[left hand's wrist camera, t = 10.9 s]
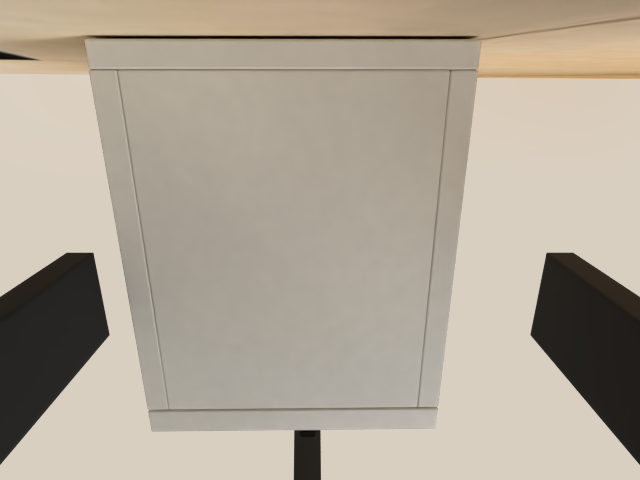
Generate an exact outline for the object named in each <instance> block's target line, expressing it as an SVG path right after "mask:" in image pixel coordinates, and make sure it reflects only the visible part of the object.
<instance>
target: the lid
mask: <svg viewBox="0 0 640 480" xmlns="http://www.w3.org/2000/svg"><path fill="white" fill-rule="evenodd" d="M437 410H438V408H437V407H418V405H417V407H355V408H250V409H156V410H149V418H150V423H151V430H152V431H153V432H165V431H264V430H358V429H359V430H361V429H435V427H436V419H437Z"/></svg>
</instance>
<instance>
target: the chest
mask: <svg viewBox="0 0 640 480" xmlns="http://www.w3.org/2000/svg"><path fill="white" fill-rule="evenodd" d="M84 43H85V49H86V55H87V61H88V66H89V68H90V69H92V70H89V74H90V80H91V85H92V91H93V97H94V102H95V108H96V114H97V120H98V125H99V131H100V137H101V143H102V148H103V154H104V160H105V166H106V172H107V177H108V183H109V189H110V195H111V200H112V206H113V212H114V218H115V223H116V229H117V235H118V241H119V246H120V252H121V258H122V263H123V269H124V275H125V281H126V286H127V292H128V298H129V304H130V310H131V315H132V321H133V327H134V332H135V338H136V344H137V350H138V355H139V361H140V367H141V373H142V378H143V384H144V390H145V395H146V401H147V407H148V409H149V410H156V409H250V408H355V407H417V405H418V407H437V406H438V402H439V393H440V385H441V376H442V368H443V360H444V351H445V343H446V335H447V326H448V318H449V309H450V301H451V293H452V284H453V276H454V267H455V259H456V251H457V242H458V234H459V225H460V217H461V209H462V201H463V192H464V184H465V175H466V167H467V159H468V150H469V142H470V133H471V125H472V117H473V108H474V100H475V91H476V83H477V75H478V71H477V70H476V69H478V65H479V57H480V48H481V40H479V39H85V40H84Z"/></svg>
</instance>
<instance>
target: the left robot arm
mask: <svg viewBox="0 0 640 480" xmlns="http://www.w3.org/2000/svg"><path fill="white" fill-rule="evenodd" d="M108 336H109V330H108V325H107V320H106V315H105V310H104V305H103V300H102V294H101V289H100V284H99V279H98V274H97V269H96V264H95V259H94V254H93V253H66V254H64V255H63V256H61V257H60V258H58V259H57V260H55V261H54V262H52V263H51V264H49V265H48V266H46V267H45V268H43V269H42V270H40V271H39V272H37V273H36V274H34V275H33V276H31V277H30V278H28V279H27V280H25V281H24V282H22V283H21V284H19V285H18V286H16V287H15V288H13V289H12V290H10V291H9V292H7V293H5V294H4V295H2V296H1V297H0V464H1V463H2V462H3V461H4V460H5V458H6V457H7V456H8V455H9V454H10V452H11V451H12V450H13V449H14V448H15V447H16V445H17V444H18V443H19V442H20V441H21V439H22V438H23V437H24V436H25V435H26V434H27V432H28V431H29V430H30V429H31V428H32V426H33V425H34V424H35V423H36V422H37V420H38V419H39V418H40V417H41V416H42V415H43V413H44V412H45V411H46V410H47V409H48V407H49V406H50V405H51V404H52V403H53V401H54V400H55V399H56V398H57V397H58V396H59V394H60V393H61V392H62V391H63V390H64V388H65V387H66V386H67V385H68V384H69V382H70V381H71V380H72V379H73V378H74V376H75V375H76V374H77V373H78V372H79V371H80V369H81V368H82V367H83V366H84V365H85V363H86V362H87V361H88V360H89V359H90V358H91V356H92V355H93V354H94V353H95V352H96V350H97V349H98V348H99V347H100V346H101V344H102V343H103V342H104V341H105V340H106V339H107V337H108ZM531 336H532V337H533V339H534V340H535V341H536V342H537V343H538V344H539V346H540V347H541V348H542V349H543V350H544V352H545V353H546V354H547V355H548V356H549V357H550V359H551V360H552V361H553V362H554V363H555V365H556V366H557V367H558V368H559V369H560V371H561V372H562V373H563V374H564V375H565V377H566V378H567V379H568V380H569V381H570V382H571V384H572V385H573V386H574V387H575V388H576V390H577V391H578V392H579V393H580V394H581V396H582V397H583V398H584V399H585V400H586V401H587V403H588V404H589V405H590V406H591V407H592V409H593V410H594V411H595V412H596V413H597V415H598V416H599V417H600V418H601V419H602V420H603V422H604V423H605V424H606V425H607V426H608V428H609V429H610V430H611V431H612V432H613V434H614V435H615V436H616V437H617V438H618V439H619V441H620V442H621V443H622V444H623V445H624V446H625V448H626V449H627V450H628V451H629V453H630V454H631V455H632V456H633V457H634V459H635V460H636V461H637V462H638V463H639V464H640V297H639V296H637V295H636V294H634V293H633V292H631V291H630V290H628V289H627V288H625V287H624V286H622V285H621V284H619V283H618V282H616V281H615V280H613V279H612V278H610V277H609V276H607V275H606V274H604V273H603V272H601V271H600V270H598V269H597V268H595V267H594V266H592V265H591V264H589V263H588V262H586V261H585V260H583V259H582V258H580V257H579V256H577V255H576V254H574V253H547V254H546V259H545V264H544V269H543V274H542V279H541V284H540V289H539V294H538V299H537V305H536V310H535V315H534V320H533V325H532V330H531Z"/></svg>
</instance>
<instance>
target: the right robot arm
mask: <svg viewBox="0 0 640 480" xmlns="http://www.w3.org/2000/svg"><path fill="white" fill-rule="evenodd" d="M294 480H321V446H320V430H294Z"/></svg>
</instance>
